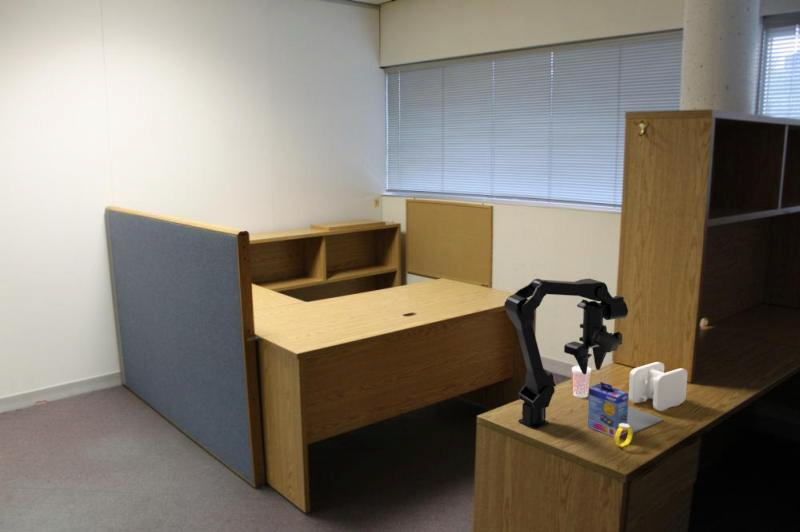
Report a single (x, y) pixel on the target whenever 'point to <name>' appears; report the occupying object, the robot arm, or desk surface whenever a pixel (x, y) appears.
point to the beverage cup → (580, 382)
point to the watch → (618, 433)
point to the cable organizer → (658, 385)
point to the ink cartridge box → (607, 408)
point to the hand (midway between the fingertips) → (591, 371)
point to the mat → (640, 419)
